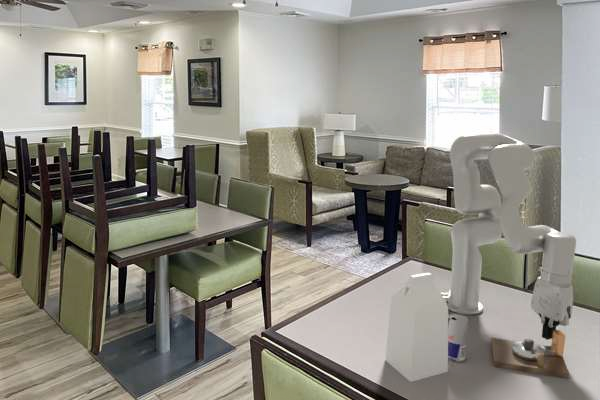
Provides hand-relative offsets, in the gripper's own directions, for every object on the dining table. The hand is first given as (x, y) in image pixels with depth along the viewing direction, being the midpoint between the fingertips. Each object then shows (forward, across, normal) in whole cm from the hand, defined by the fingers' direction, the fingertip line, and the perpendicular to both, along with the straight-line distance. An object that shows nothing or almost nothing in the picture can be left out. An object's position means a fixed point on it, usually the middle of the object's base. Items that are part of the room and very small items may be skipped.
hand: (548, 337), depth 138 cm
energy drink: (+5, -8, -26) cm, 28 cm away
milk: (+5, -8, -39) cm, 40 cm away
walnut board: (+4, +1, -8) cm, 10 cm away
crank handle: (+3, +2, -6) cm, 7 cm away
